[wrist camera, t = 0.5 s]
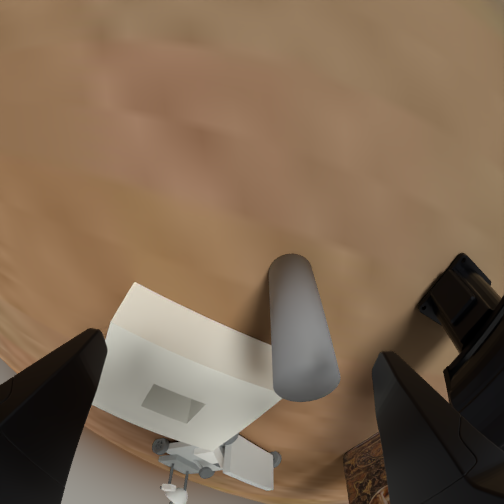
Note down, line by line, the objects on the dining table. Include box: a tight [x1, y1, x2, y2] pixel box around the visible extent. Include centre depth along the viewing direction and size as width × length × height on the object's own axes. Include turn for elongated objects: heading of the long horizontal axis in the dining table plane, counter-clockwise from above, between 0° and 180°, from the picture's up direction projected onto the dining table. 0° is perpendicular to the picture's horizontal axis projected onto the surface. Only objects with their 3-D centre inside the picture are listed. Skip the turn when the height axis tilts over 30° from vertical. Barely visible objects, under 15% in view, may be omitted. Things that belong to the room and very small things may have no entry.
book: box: [343, 432, 390, 504], centre depth 23 cm, size 16×6×25 cm, turn 151°
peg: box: [269, 254, 340, 402], centre depth 17 cm, size 3×3×10 cm
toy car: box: [152, 433, 281, 504], centre depth 32 cm, size 18×10×12 cm
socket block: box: [92, 282, 282, 451], centre depth 24 cm, size 14×14×5 cm
